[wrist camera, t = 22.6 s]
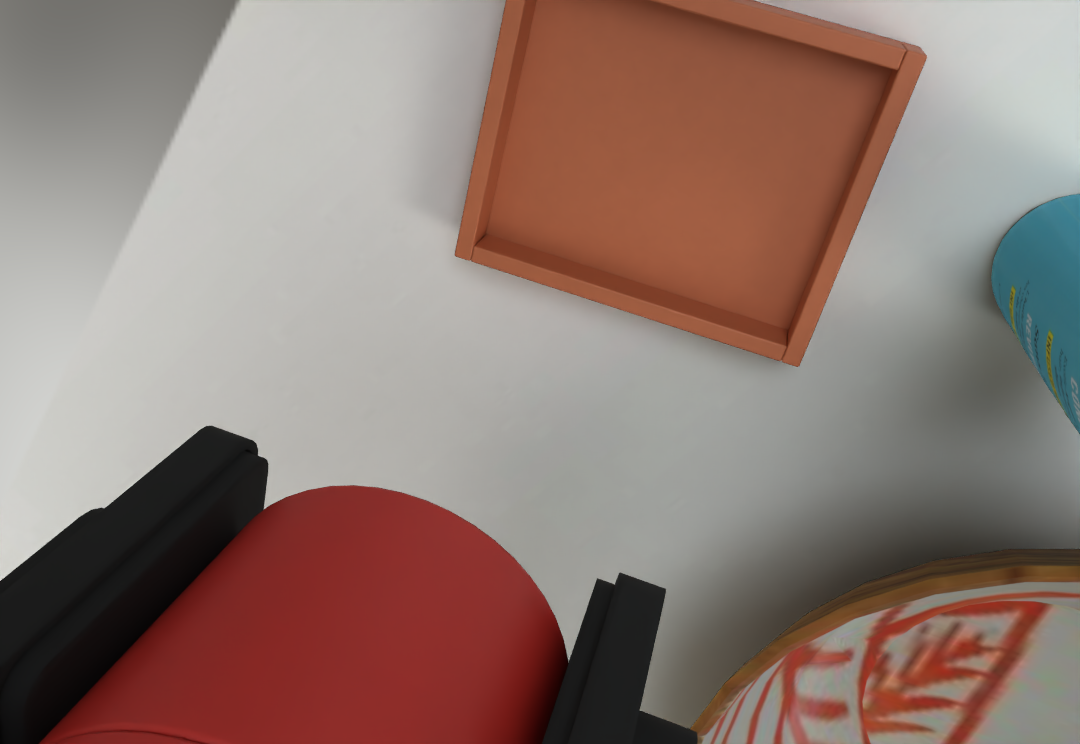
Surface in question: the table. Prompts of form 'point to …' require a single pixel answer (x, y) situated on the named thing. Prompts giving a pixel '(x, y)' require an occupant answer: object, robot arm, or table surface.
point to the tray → (683, 159)
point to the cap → (339, 637)
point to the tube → (1045, 294)
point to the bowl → (921, 661)
